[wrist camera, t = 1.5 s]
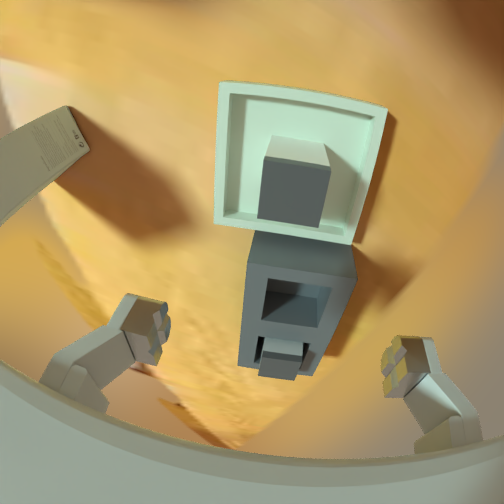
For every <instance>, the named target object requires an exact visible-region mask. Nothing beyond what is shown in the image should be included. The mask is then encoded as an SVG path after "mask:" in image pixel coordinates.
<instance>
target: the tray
mask: <svg viewBox="0 0 504 504" xmlns="http://www.w3.org/2000/svg"><path fill="white" fill-rule="evenodd" d="M387 111H388V109H387V108H385V107H383V106H382V105H378V104H374V103H371V102H367V101H363V100H359V99H354V98H350V97H346V96H341V95H336V94H331V93H326V92H321V91H315V90H309V89H303V88H297V87H290V86H282V85H274V84H265V83H255V82H243V81H228V80H224V81H221V82H219V94H218V112H217V132H216V157H215V189H214V224H219V225H226V226H232V227H239V228H246V229H253V230H259V231H266V232H273V233H279V234H285V235H292V236H298V237H304V238H311V239H317V240H323V241H329V242H335V243H341V244H347V245H351V243H352V240H353V237H354V234H355V231H356V228H357V225H358V222H359V218H360V215H361V212H362V209H363V205H364V202H365V199H366V195H367V192H368V188H369V185H370V181H371V177H372V174H373V170H374V166H375V162H376V158H377V154H378V150H379V146H380V142H381V138H382V134H383V130H384V125H385V121H386V116H387ZM272 135H274V136H281V137H288V138H295V139H301V140H307V141H313V142H319V143H324V146H325V150H326V153H327V157H328V160H329V164H330V168H331V176H330V180H329V185H328V189H327V194H326V198H325V202H324V207H323V211H322V215H321V219H320V223H319V228H315V227H309V226H302V225H296V224H290V223H283V222H277V221H270V220H264V219H257V214H258V205H259V196H260V187H261V177H262V168H263V160H264V157H265V154H266V151H267V148H268V145H269V142H270V139H271V136H272Z"/></svg>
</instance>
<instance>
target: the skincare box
mask: <svg viewBox="0 0 504 504" xmlns="http://www.w3.org/2000/svg"><path fill="white" fill-rule="evenodd" d="M89 151H90V149H89V147H88V145H87V143H86V141H85V140H84V138H83V136H82V134H81V132H80V130H79V128H78V126H77V124H76V122H75V120H74V118H73V116H72V114H71V112H70V110H69V108H68V106H62V107H60V108H58V109H56V110H54V111H51V112H49V113H47V114H45V115H43V116H41V117H39V118H37V119H35V120H33V121H31V122H29V123H27V124H25V125H23V126H22V127H20V128H18V129H16V130H14V131H13V132H11V133H9V134H7V135H6V136H4V137H2V138H1V139H0V226H1V225H2V224H4V223H5V222H6V221H7V220H8V219H9V218H10V217H11V216H12V215H13V214H15V213H16V212H17V211H18V210H19V209H20V208H21V207H23V206H24V205H25V204H26V203H27V202H28V201H29V200H31V199H32V198H33V197H34V196H36V195H37V194H38V193H39V192H40V191H42V190H43V189H44V188H45V187H47V186H48V185H49V184H50V183H52V182H53V181H54V180H55V179H57V178H58V177H59V176H60V175H61V174H62V173H63V172H65V171H66V170H67V169H68V168H69V167H70V166H71V165H73V164H74V163H75V162H76V161H77V160H78V159H79V158H80V157H81V156H83V155H84V154H86V153H87V152H89Z"/></svg>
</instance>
